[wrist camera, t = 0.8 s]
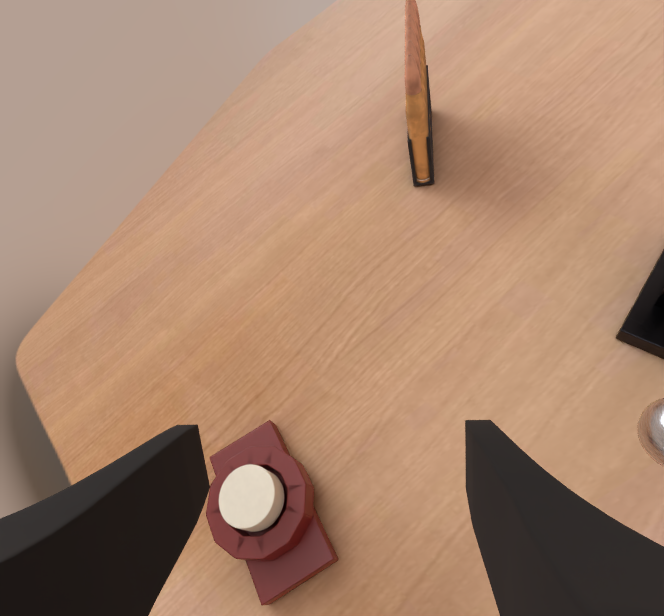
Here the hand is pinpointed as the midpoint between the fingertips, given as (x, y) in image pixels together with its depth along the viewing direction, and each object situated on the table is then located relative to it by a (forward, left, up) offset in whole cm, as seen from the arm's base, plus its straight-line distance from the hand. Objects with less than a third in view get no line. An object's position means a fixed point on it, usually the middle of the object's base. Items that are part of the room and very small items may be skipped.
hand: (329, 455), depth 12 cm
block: (+6, +7, -19) cm, 21 cm away
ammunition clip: (+28, -20, -19) cm, 39 cm away
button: (+6, +7, -17) cm, 19 cm away
